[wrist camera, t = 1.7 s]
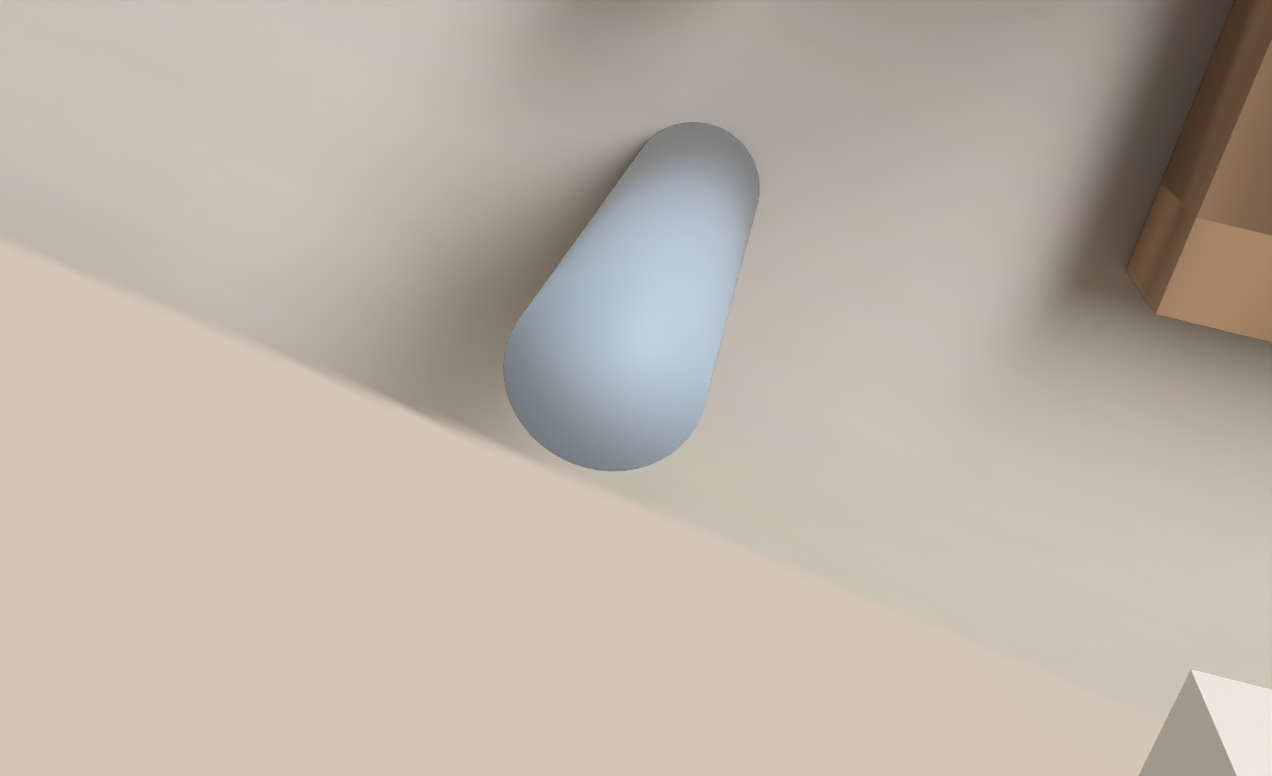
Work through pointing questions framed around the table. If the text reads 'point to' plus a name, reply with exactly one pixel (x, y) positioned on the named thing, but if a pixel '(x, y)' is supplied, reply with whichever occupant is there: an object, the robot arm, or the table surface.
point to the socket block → (1218, 193)
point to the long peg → (638, 306)
